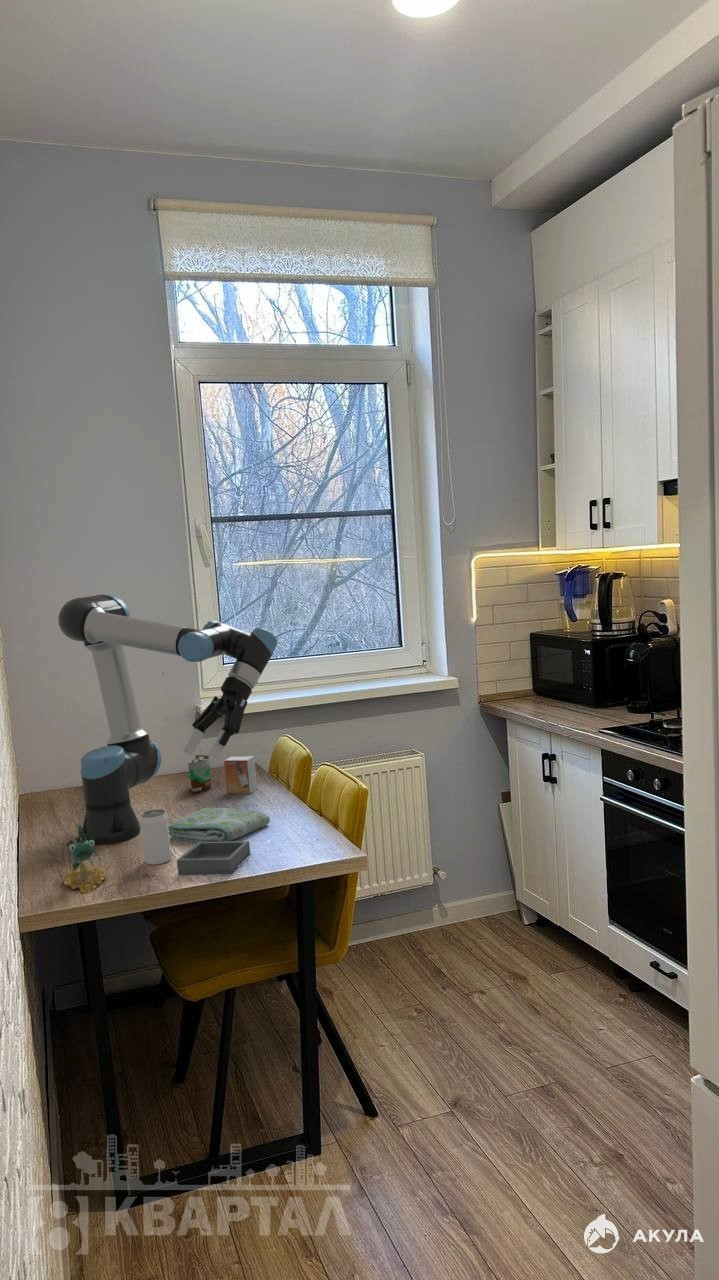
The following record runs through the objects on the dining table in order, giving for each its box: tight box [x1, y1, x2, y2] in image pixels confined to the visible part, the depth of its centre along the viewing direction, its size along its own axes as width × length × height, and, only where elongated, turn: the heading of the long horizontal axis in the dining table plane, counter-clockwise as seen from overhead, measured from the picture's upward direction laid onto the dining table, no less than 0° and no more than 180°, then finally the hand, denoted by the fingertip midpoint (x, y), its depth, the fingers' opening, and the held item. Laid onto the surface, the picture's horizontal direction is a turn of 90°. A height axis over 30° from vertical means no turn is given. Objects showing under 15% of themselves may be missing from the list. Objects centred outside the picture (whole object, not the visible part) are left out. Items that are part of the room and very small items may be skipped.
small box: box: [223, 755, 258, 794], centre depth 285 cm, size 8×6×10 cm
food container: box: [187, 754, 213, 794], centre depth 292 cm, size 12×6×10 cm, turn 179°
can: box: [139, 809, 172, 866], centre depth 225 cm, size 6×6×12 cm
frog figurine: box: [63, 823, 108, 894], centre depth 214 cm, size 10×18×15 cm, turn 18°
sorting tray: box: [176, 840, 251, 876], centre depth 218 cm, size 13×13×4 cm
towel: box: [168, 807, 271, 843], centre depth 245 cm, size 18×21×5 cm
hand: (199, 754), depth 232 cm, fingers open, 13 cm apart
